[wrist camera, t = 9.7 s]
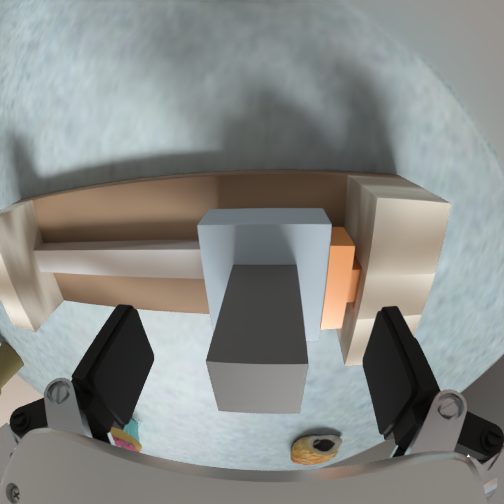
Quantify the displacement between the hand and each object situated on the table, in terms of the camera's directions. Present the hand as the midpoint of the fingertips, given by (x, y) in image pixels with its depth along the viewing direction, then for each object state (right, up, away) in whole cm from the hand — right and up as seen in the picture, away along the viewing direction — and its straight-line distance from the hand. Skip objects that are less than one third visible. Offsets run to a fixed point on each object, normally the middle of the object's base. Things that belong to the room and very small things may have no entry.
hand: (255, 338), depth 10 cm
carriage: (+1, +3, +7) cm, 8 cm away
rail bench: (-6, +4, +9) cm, 12 cm away
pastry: (+9, -25, +23) cm, 36 cm away
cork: (-45, -16, +23) cm, 53 cm away
